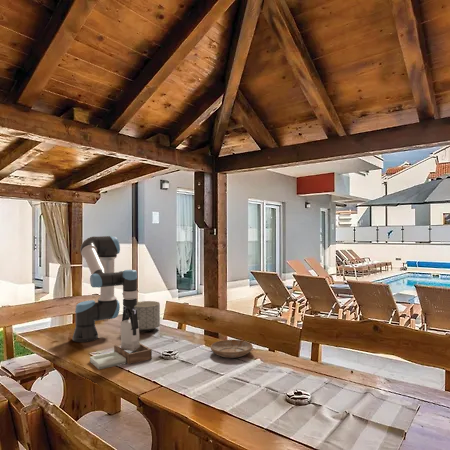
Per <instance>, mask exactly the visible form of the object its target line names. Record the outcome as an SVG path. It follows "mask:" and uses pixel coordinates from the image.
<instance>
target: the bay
mask: <svg viewBox="0 0 450 450" xmlns="http://www.w3.org/2000/svg"><path fill="white" fill-rule="evenodd" d="M139 345H140V347H139V348H138V349H136V350H135V351H136V352H132V353H129V351H127V350H123V349H122V348H121V346H119V345H117V344H114V345H113V352H117V353H119V354H120V355H122V356H123V357H125V358H126V364H127V363H128V365H132V364H136V363H140V362H144V361H148V360H152V358H153V357H152V355H153V354H152V353H153V351H152V348H149V347H148V346H146V345H145V344H142V343H141V342H139ZM131 363H132V364H131Z"/></svg>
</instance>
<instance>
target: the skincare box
mask: <svg viewBox="0 0 450 450" xmlns="http://www.w3.org/2000/svg"><path fill="white" fill-rule="evenodd" d="M119 323H120V325H119V327H120V348H122V349H123V350H125V351H127V352H134V351H136V349H138V348H139V347H140V345H139V343H140V331H139V328H138V329H137V341H133V342H132V341H131V328H132V326H131V321H130V318H129V319H128V320H124V321H122V320H121V321H120V322H119ZM138 327H139V320H138Z"/></svg>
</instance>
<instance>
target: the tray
mask: <svg viewBox="0 0 450 450" xmlns="http://www.w3.org/2000/svg"><path fill="white" fill-rule="evenodd" d="M89 362H90V364H92V365H93V366H94V367H95V368H96V369H98V370H103V369H109V368H112V367H116V366H121V365H120V364H122V365H125V364H124V363H126V358H125V357H123V356H122V355H120V354H119V353H117V352H114V351H112V352H108V353H101V354H97V355H93V356H89ZM126 364H127V363H126Z"/></svg>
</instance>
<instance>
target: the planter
mask: <svg viewBox="0 0 450 450" xmlns="http://www.w3.org/2000/svg"><path fill="white" fill-rule="evenodd" d="M160 304H161V303H160V302H159V301H157V300H155V301H154V300H153V301H152V300H142V301H137V305H136V306H134V309H135V310H137V318H138V320H139V332H142V333H143V332H144V333H146V332H151V331H153V330H155V329H156V328H159V327H160V326H161V317H160V316H161V310H160V309H161V305H160Z"/></svg>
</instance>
